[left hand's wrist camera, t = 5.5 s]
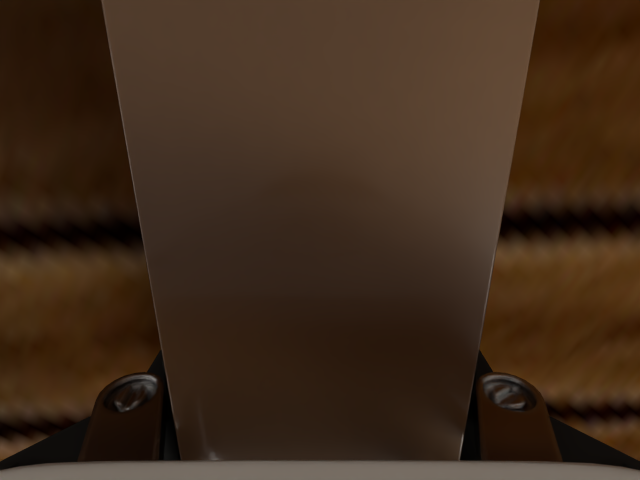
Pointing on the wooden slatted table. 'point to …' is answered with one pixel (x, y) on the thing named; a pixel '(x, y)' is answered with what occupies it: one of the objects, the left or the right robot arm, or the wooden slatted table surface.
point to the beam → (320, 213)
